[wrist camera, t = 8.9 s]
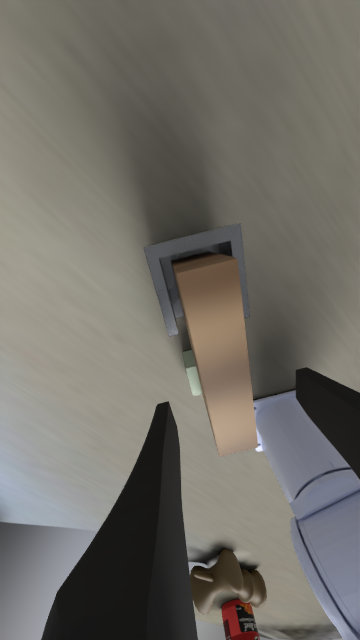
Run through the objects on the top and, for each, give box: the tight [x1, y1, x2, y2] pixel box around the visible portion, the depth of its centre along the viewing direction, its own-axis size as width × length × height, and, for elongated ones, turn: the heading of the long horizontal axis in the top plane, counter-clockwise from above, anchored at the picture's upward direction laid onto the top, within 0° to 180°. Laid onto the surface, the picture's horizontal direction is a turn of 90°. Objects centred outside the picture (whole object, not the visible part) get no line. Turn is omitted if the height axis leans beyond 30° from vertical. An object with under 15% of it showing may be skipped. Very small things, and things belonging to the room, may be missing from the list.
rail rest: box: [183, 350, 203, 396], centre depth 21 cm, size 4×5×3 cm
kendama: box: [190, 548, 267, 614], centre depth 40 cm, size 6×10×20 cm
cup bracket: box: [144, 223, 250, 336], centre depth 16 cm, size 6×6×6 cm
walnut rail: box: [171, 251, 258, 457], centre depth 15 cm, size 14×3×6 cm, turn 13°
